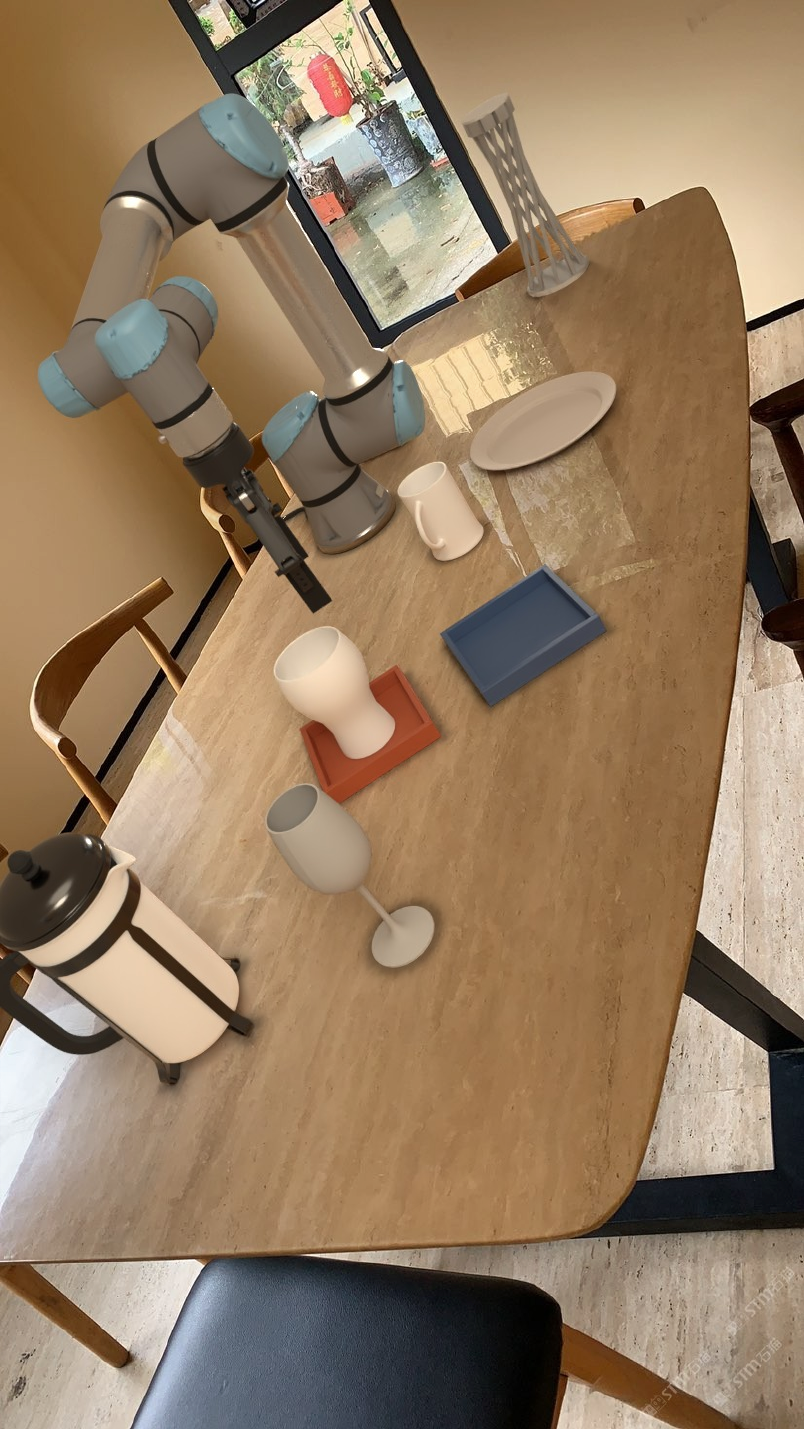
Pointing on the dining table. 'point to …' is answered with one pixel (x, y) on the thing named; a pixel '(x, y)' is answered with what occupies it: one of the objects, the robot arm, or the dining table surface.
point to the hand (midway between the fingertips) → (310, 583)
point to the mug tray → (521, 633)
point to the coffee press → (112, 954)
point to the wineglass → (342, 866)
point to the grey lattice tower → (524, 197)
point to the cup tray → (408, 738)
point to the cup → (334, 690)
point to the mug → (440, 511)
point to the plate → (543, 421)
